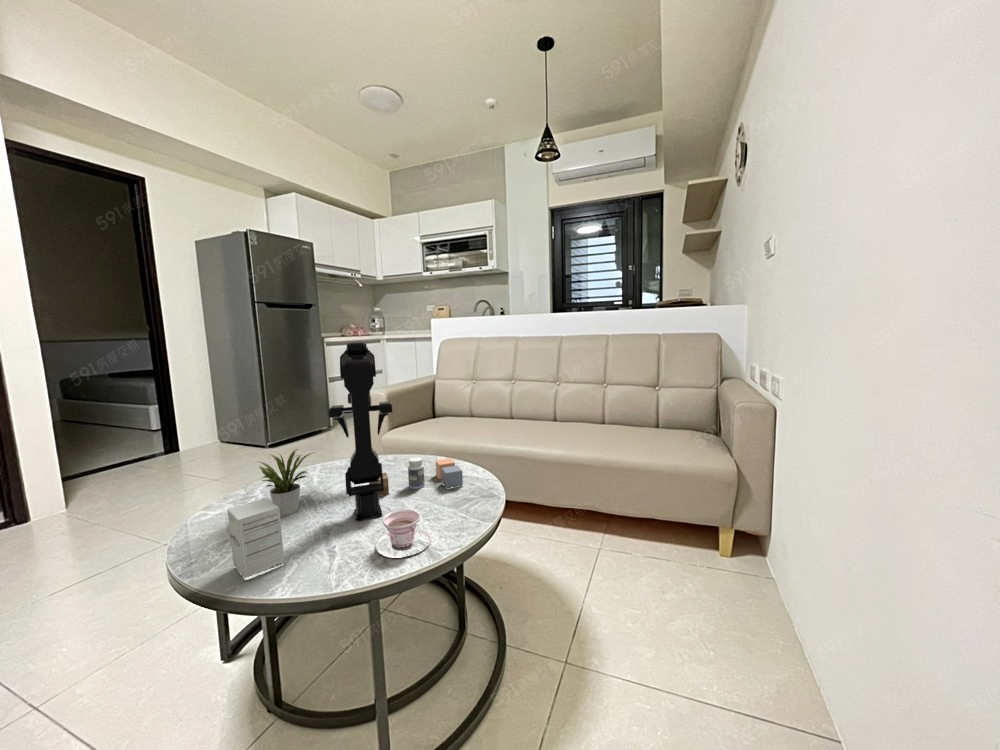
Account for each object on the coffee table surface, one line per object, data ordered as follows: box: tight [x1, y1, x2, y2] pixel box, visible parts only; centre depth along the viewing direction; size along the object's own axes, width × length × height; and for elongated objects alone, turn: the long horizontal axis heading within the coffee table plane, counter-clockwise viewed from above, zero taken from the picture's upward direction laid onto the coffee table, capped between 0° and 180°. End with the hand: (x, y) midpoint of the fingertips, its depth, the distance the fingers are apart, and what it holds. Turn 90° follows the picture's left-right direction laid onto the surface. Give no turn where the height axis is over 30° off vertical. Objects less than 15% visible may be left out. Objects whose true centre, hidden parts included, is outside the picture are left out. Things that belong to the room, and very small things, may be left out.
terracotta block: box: [435, 457, 456, 481], centre depth 126 cm, size 5×5×5 cm
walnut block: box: [368, 472, 390, 497], centre depth 115 cm, size 5×5×5 cm
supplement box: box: [227, 497, 285, 578], centre depth 79 cm, size 7×7×13 cm
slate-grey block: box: [441, 464, 464, 490], centre depth 119 cm, size 5×5×5 cm
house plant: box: [256, 448, 317, 517], centre depth 105 cm, size 14×14×16 cm
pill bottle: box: [407, 456, 426, 490], centre depth 119 cm, size 5×5×8 cm
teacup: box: [375, 509, 432, 554], centre depth 86 cm, size 12×12×6 cm
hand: (363, 435), depth 125 cm, fingers open, 9 cm apart
